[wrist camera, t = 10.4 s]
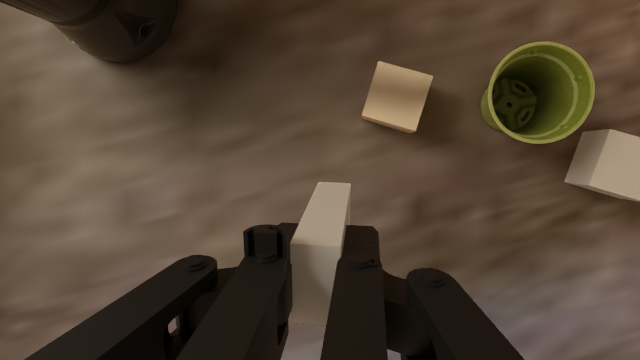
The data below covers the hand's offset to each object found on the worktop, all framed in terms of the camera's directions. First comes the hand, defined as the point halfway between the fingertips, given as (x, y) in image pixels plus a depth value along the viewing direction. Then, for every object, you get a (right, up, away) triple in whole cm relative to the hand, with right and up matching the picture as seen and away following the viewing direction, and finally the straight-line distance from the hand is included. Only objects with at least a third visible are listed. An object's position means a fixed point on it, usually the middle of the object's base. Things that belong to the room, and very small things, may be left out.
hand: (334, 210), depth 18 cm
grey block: (+31, +3, +26) cm, 41 cm away
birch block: (+8, +11, +28) cm, 31 cm away
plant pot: (+21, +10, +26) cm, 35 cm away
